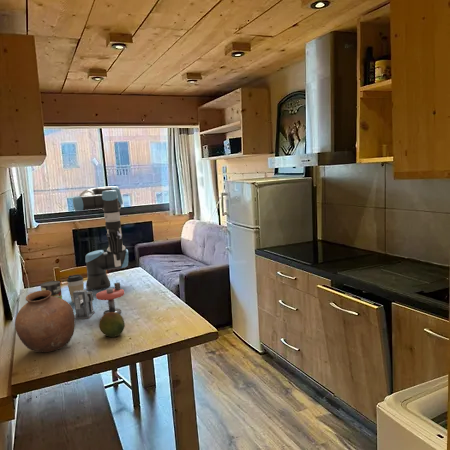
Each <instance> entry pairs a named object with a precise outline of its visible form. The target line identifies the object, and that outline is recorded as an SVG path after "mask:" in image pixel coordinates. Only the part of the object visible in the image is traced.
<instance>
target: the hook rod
mask: <svg viewBox="0 0 450 450" xmlns="http://www.w3.org/2000/svg"><path fill="white" fill-rule="evenodd" d="M93 291H94V290H89V291H87V296H88V301H89V300H92V302H94V293H93ZM75 303H76V309H81V308H82V307H83V306H84V304H83V299H82V300H81V301H80V298H75Z"/></svg>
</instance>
